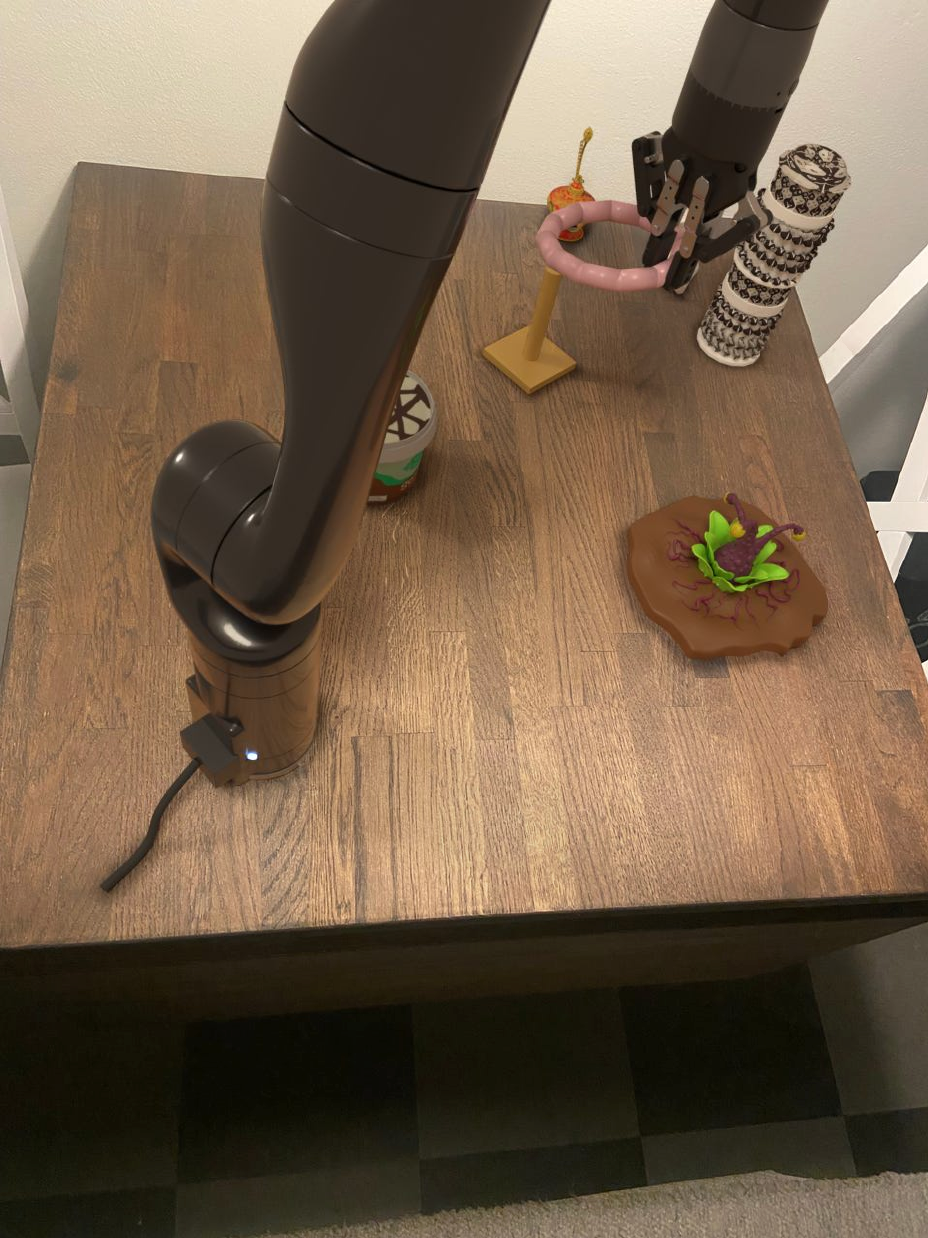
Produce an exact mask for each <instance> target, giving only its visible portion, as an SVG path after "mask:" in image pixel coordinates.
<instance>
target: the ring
mask: <svg viewBox="0 0 928 1238" xmlns="http://www.w3.org/2000/svg"><path fill="white" fill-rule="evenodd" d="M602 222H603V223H605V222H612V223H616V224H622V225H627V226H632V227H636V228H640V229H642V230H644V231H646V232H648V233H649V234H651V229H650V226H651V224H650V222H649V221H648V219H647V218H646V217H641V216H640V215H639V214H638V211H637V204H634V203H629V202H623V201H619V200H614V199H606V200H596V201H588V202H576V203H573V204H571V205H569V206H566V207H564V208H562V209H559V210H557V211H555V212H552V213H550V212H549V213H548V214H547V216H545V218H544V220H543V222H542V223H541V226H540V228H539V230H538V231H537V233H536V235H535V241H534V242H535V245H536V248H537V249H538V251H539V253H540V255H541V257H542V259H543V261H544V262H545V265H547V266H548V267H549V268H551V269H553V270H554V271H556V272H558V273H559V274H561V275H562V277H563V276H564V277H565V278H566V279H568V280H570V281H571V282H573V283H574V284H577V285H580V286H585V287H589V288H593V289H598V290H603V291H608V292H614V293H629V292H638V291H649V290H650V291H651V290H657V289H659V288H661V287H662V286H663V284H664V283H665V277H666V275H667V272H668V270H669V267H670V265H671V262H672V260H673V257H674V254H675V252H676V251H678V250H679V248H680V244H681V241H682V238H683V235H684V231H683V230H682V228H681V227H680V225H679V226H678V227H676V228H675V229H674V230H675V231H676V232H677V236H676V238H675V241H674V243H673V246H672V248H671V253H670V256H669V258H668V259H666V260H664V261H662V262H661V263H659V264H657V265H655V266H653V267H646V268H644V267H634V268H625V269H624V268H623V269H622V268H621V269H619V268H614V267H609V266H604V265H600V264H595V263H588V262H585V261H584V260H582V259H581V258H579V257H577V256H575V255H573V254H572V253H570V252H568V251H566V250H564V248H563V247H562V246H561V245H562V244H561V243H560V241H559V239H558V237H559V235H560V233H561V231H564V230H566V229H568V228H570V227H572V226H575V225H577V224H579V223H587V224H588V223H589V224H590V223H602Z"/></svg>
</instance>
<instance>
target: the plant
mask: <svg viewBox="0 0 928 1238" xmlns="http://www.w3.org/2000/svg"><path fill="white" fill-rule="evenodd" d="M789 530H792V532H791V536H792V539H793V540H794V541H795V542H801V541H804V539H805V538H806V530H805V528H803V526H801V525H798V524H796V523H786V524H783V525H779V523H778V522H777V521H776V520H775V519H774V518H771V517H769V516H768V515H767V514H765V512H763V511H762V510H761V509H760V508H758V507H757V506H756V505H753V504H751V503H749V502H746V501H745V500H742V499H740V498H739V497H738V495H737V494H736V493H735V492H733V491H728V492H726V493H725V494H724V497H722V498H719V499H711V498H704V497H701V496H698V495H690V496H686V497H683V498H682V499H680V500H678V501H675V502H674V503H670V504H669V505H666V506H664V507H661V508H659V509H657V510H655V511H652V512H649V513H648V514H646V515H643V517H640V518H639V519H638V520H636V521H634V522H633V523H632V524H631V525H630V526H629V528H628V531H627V532H626V543H627V551H628V554H627V555H628V557H627V561H626V574H627V578H628V581H629V584H630V586H631V589H632V590H633V591H634V594H635V596H636V598H637V601H639V604H640V607H641V608H642V611H643V612H644V614H645V616H646V617H647V618H648V619H649V620H650V621H651V622H652V623H655V624H656V625H658V626H659V627H661V628H662V629H663V630H664V631H665V632H667V633H668V635H669V636H670V637H671V638H672V639H673V640H674V642H675V643H676V644H677V645H678V646H679V647H680V649H681V651H682V652H683V654H684V655H685V657H686V658H687V659H692V660H701V661H702V660H703V661H712V660H715V659H718V658H722V657H723V658H724V657H735V658H739V657H740V658H741V657H745V656H749V655H752V654H757V653H760V652H773V653H777V654H778V656H780V657H782V658H783V657H784V655H785V654H787V652H788V651H789V650H790V649H793V648H800V647H802V646H803V645H804V644H805V643H806V642H807V641H808V640H809V638H811V636H812V635H813V626H817V625H819V624H820V623H822V621H823V620H824V619H825V618H826V617H827V616H828V607H829V599H828V595H827V590H826V588H825V586H824V584H823V583H822V582H821V580H820V579H819V577H818V576H817V575H816V573H815V572H814V571H813V570H812V568H811V567H810V566H809V563H808V562H807V561H806V560H805V558H804V557H803V555H802V554H801V552H800V550H799V549H798V548H797V547H796V545H795V544H794V543H793V542H792V541H791V539H789V537H788V536H786V534H785V533H784V532H786V531H789Z"/></svg>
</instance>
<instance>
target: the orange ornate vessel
mask: <svg viewBox="0 0 928 1238" xmlns="http://www.w3.org/2000/svg"><path fill="white" fill-rule="evenodd" d="M582 134H583V135H582V136H583V139H581V140H580V141H579V146H578V147H579V148H578V155H577V162H576V168H575V169H576V170H575V176H574V177H572V178H571V181H572V182H571V183H569V184H568V185H560V186H557V187H555V188H553V189H552V190H551V191H550V192H549V193H548V195H547V198H546V206H547V209H548V211H549V214H550V213H552V212H555V211H557V210H559V209H562V208H564V207H566V206H569V205H571V204H573V203H576V202H588V201H597V200H596V199H595V197H594V196H593V195H592V194H591V193H590V192H588V191H586V190H585V187H584V186H583V184H584V183H585V179H583V176H582V174H580V169H581V165H582V160H583V156H584V153H585V150H586V147H587V145H588V143H589V142H590V141H591V140H592V138H593V137H594V130H593V129H592V127H591V126H588V127H587V128H586V129H584V131H583V133H582ZM587 224H588V223H579V224H577V225H575V226H572V227H570V228H568V229H566V230H564V231H561V233H560V235H559V237H558V239H557V240H561V241H563V242H577V241H579V240H580V239H582V238H583V236H584V230H583V227H584V226H585V225H587Z"/></svg>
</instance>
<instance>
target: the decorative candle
mask: <svg viewBox="0 0 928 1238" xmlns="http://www.w3.org/2000/svg"><path fill="white" fill-rule="evenodd" d="M778 165H779V166H778V167H777V169H776V171H775V175H774V177H773V179H772V180H771V181H770V182H768V184H767V186H766V187H762V188H759V189H758V191H757V194H756V195H757V196H755V197H756V199H757V201H758V203H759V205H760V207H761V209H762V210H763V209H769V210H770V211H771V212H772V214H773V220H772V222H771V223H770V224H769V225H768V226H766V227H765V228H763V229H762V230H760V231H759V232H757V233H756V234H754V235H752V236H751V237H749V238H748V239H746V240H745V241H743V242H742V243H740V244H739V245H737V246H736V247H735V249H734V254H733V260H734V261H733V263H732V267H731V269H730V270H729V271H728V272H726V275H725V277H724V279H723V281H722V282H720V283H719V284H718V286H717V289H716V291H715V294H714V295H713V299H712V300H711V303H710V305H708V307H707V309H706V312H705V315H704V317H703V318H702V321H701V323H700V327H699V328H697V329H698V330H697V335H696V340H697V343H698V346H699V347H700V349H701V350H702V351H703V352H704V353H705V354H706V355H707V356H708V357H710V358H711V359H713V360H714V361H716V362H718V363H720V364H724V365H726V366H729V367H746V366H748V365H749V366H750V365H753V364H754V363H755V362H756V361H757V360H758V359H759V358H760V356H761V351H764V350H765V347H764V346H765V344H766V343H767V342H768V341H770V339H771V338H770V336H769V335H771V334H772V332H773V331H772V330H774V329H776V327H777V323H778V320H780V319H781V318H782V317H783V312H784V307H785V306H786V304H787V302H788V300H789V295H790V293H791V291H792V290H793V288H794V287H796V286H797V285H798V284H799V283H800V282H801V281H802V279H803V277H804V276H803V275H804V273H806V271H808V270H810V269H811V264H812V261H813V260H814V259H815V258H816V257H817V256H818V255H819V252H818V250H819V247H821V246H822V245H823V244H826V243H827V240H828V234H829V233H830V232H831V231H832V230H834V229H835V227H836V225H835V217H834V216H835V214H836V212H837V207H838V204H839V203H840V201H841V200H842V197H843V196H844V194H845V192H846V191H847V190H848V189H849V188H850V187H851V186H852V176H851V175H850V174H849V172H848V167H847V163H846V161H845V160H844V158H843V156H842V155H840V154H839V153H838V152H837V151H835V150H834V149H831V148H829V147H828V146H825V145H822V144H818V143H804V144H800V145H798V146H796V147H795V148H793V149H788V150H785V151H784V152H782V153H781V154H780V155H779V158H778Z"/></svg>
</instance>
